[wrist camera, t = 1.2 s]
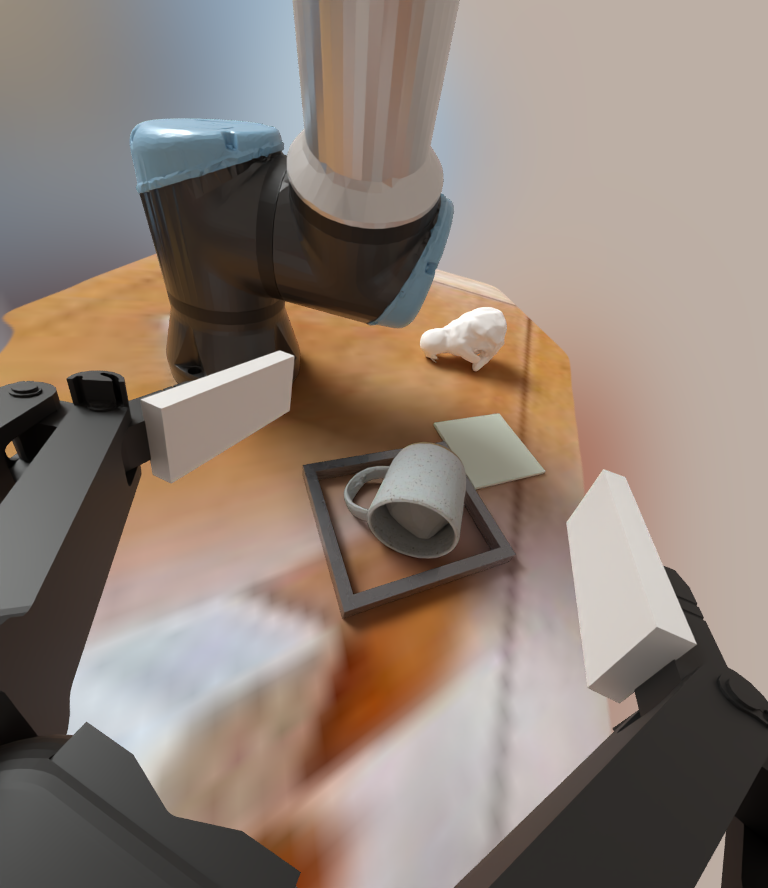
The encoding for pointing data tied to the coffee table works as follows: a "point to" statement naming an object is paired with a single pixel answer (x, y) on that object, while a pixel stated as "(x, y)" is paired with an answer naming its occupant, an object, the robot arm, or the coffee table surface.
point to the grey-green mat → (488, 450)
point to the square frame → (408, 585)
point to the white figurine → (468, 337)
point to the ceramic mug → (415, 500)
